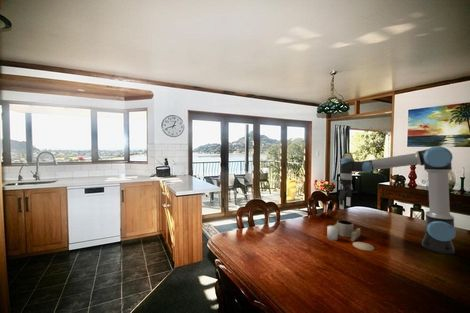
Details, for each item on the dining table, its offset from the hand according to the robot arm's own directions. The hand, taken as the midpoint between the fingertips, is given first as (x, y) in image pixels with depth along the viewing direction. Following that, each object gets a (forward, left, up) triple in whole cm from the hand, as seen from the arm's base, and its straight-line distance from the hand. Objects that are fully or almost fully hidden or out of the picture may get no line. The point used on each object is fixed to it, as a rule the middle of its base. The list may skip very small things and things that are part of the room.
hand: (345, 207), depth 157 cm
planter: (-1, +1, -20) cm, 21 cm away
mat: (-16, +13, -20) cm, 29 cm away
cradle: (-1, +1, -20) cm, 20 cm away
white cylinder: (+3, +14, -20) cm, 25 cm away
